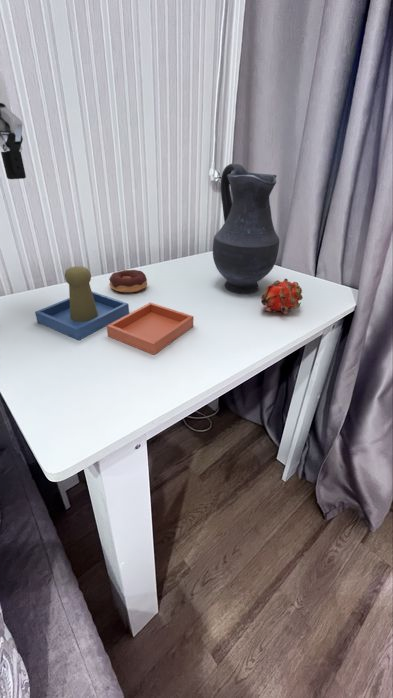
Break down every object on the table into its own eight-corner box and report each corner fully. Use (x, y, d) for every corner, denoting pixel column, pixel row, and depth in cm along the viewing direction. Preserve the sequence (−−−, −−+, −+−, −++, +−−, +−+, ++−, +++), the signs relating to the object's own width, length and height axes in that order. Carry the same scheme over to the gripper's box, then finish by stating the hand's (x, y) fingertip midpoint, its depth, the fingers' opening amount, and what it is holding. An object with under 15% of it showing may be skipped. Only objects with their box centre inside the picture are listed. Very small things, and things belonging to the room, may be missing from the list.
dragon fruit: (299, 312, 85) (262, 328, 80) (282, 285, 87) (245, 299, 82) (318, 295, 77) (278, 312, 73) (298, 266, 79) (259, 281, 75)
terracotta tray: (153, 355, 63) (153, 344, 62) (107, 336, 68) (106, 325, 67) (193, 326, 73) (193, 316, 72) (150, 311, 78) (150, 302, 77)
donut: (102, 291, 87) (100, 276, 85) (120, 278, 95) (119, 265, 93) (137, 297, 85) (136, 282, 83) (152, 283, 93) (152, 270, 91)
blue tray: (78, 340, 66) (76, 329, 65) (37, 322, 72) (34, 311, 71) (129, 313, 77) (128, 303, 76) (89, 299, 83) (88, 289, 81)
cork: (64, 318, 73) (54, 270, 67) (82, 307, 78) (74, 261, 72) (87, 324, 71) (79, 275, 65) (103, 312, 76) (97, 266, 70)
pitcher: (233, 304, 83) (248, 170, 67) (192, 277, 98) (196, 162, 82) (284, 293, 91) (308, 169, 75) (239, 269, 106) (251, 162, 90)
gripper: (-86, 48, 51) (-48, 172, 60) (-25, 38, 44) (9, 182, 53) (-36, 58, 57) (-7, 171, 66) (27, 50, 49) (49, 179, 58)
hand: (0, 176), depth 59 cm, fingers open, 9 cm apart
